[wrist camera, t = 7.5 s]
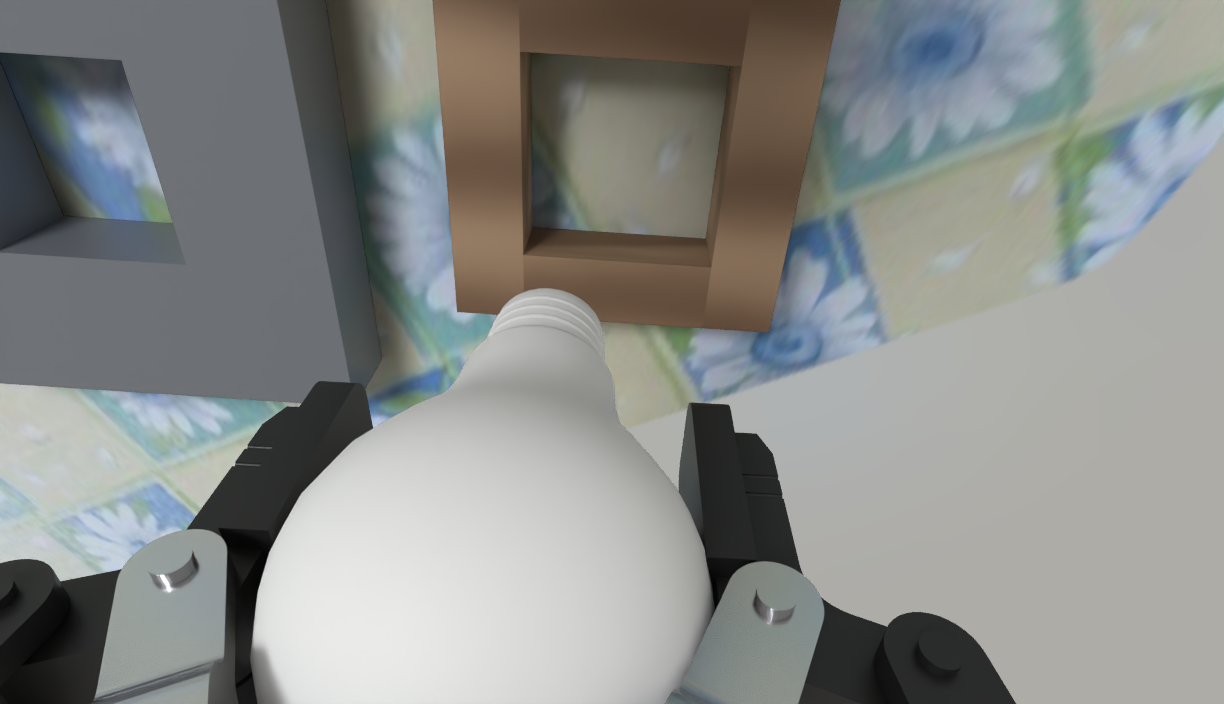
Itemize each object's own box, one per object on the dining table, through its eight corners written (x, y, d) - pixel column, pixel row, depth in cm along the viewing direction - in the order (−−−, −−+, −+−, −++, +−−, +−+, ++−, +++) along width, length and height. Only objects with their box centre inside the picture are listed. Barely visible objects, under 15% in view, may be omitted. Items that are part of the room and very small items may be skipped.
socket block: (-278, -206, 23) (-459, -228, 20) (299, -166, 23) (232, -181, 20) (0, 334, 35) (-78, 386, 32) (381, 359, 36) (350, 414, 32)
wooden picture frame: (449, -56, 25) (428, -52, 23) (825, -30, 25) (845, -23, 23) (471, 281, 33) (457, 311, 30) (759, 300, 33) (768, 332, 30)
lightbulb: (670, 180, 14) (733, 684, 5) (688, 407, 18) (747, 958, 8) (390, 212, 15) (-7, 716, 6) (460, 426, 18) (282, 961, 9)
